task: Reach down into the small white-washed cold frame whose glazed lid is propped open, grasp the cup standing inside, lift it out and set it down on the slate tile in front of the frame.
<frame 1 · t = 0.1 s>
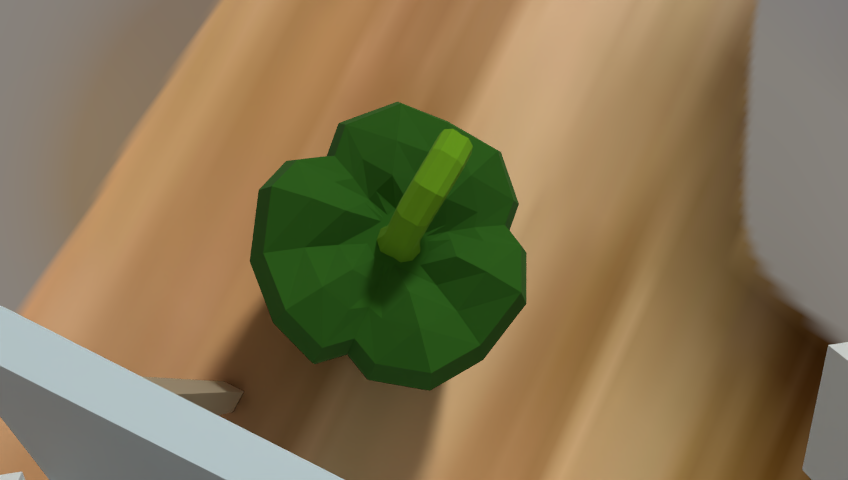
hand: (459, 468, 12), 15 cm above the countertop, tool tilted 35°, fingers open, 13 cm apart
bell pepper: (385, 278, 28), on the countertop
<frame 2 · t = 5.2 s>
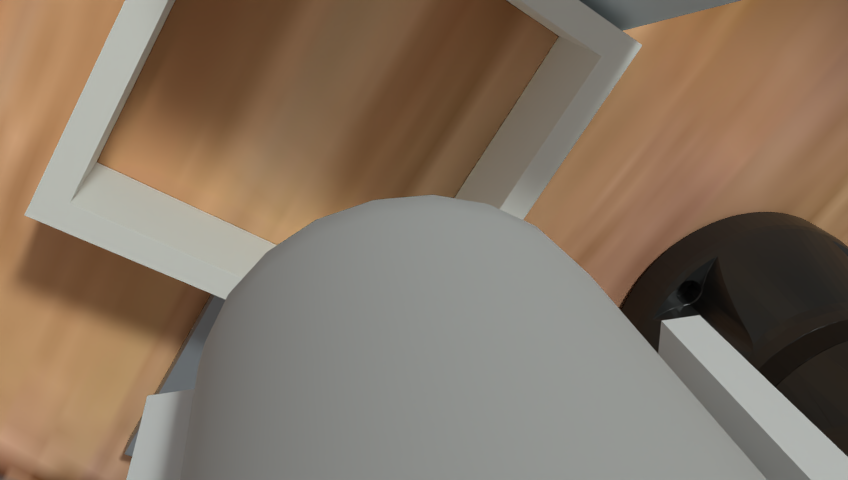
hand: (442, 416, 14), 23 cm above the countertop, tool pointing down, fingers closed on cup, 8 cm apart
cold frame: (333, 97, 34), on the countertop
cup: (463, 398, 14), point 23 cm above the countertop, touching gripper
slate tile: (270, 398, 40), on the countertop
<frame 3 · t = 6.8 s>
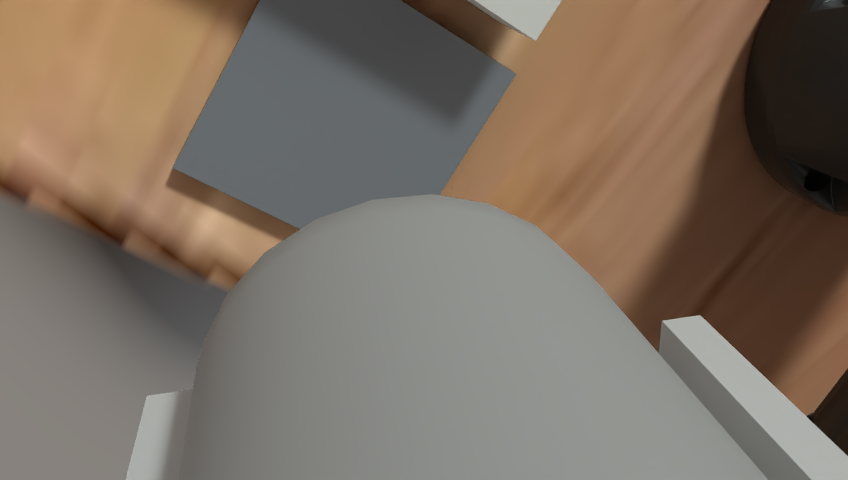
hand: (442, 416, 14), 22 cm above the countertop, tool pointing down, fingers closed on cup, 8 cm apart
cup: (464, 398, 14), point 22 cm above the countertop, touching gripper
slate tile: (345, 114, 33), on the countertop
when the fingers open (2 cm above the countertop, at t = 9.4 s): cup stays where it is, resting on slate tile.
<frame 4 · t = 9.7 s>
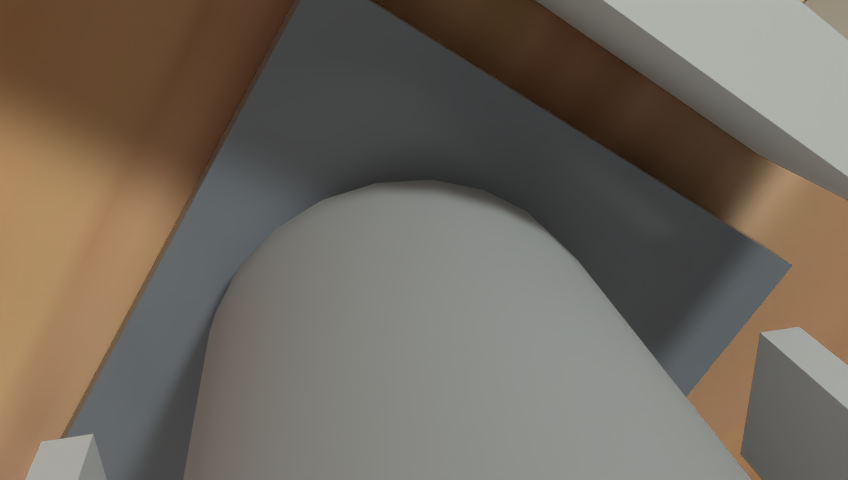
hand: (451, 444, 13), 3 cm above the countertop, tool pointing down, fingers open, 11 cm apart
cup: (457, 373, 15), point 1 cm above the countertop, touching slate tile
slate tile: (419, 348, 16), on the countertop
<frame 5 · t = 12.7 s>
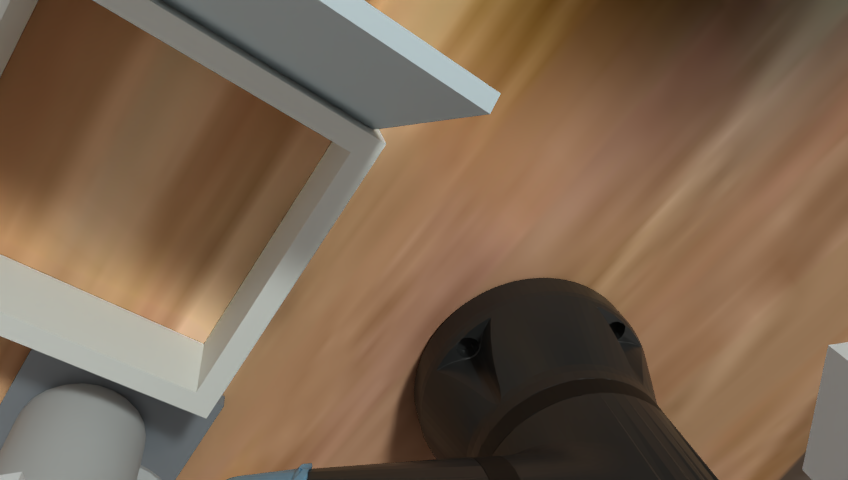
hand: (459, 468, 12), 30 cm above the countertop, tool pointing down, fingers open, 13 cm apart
cold frame: (140, 173, 40), on the countertop
cup: (105, 438, 45), point 1 cm above the countertop, touching slate tile
slate tile: (97, 429, 45), on the countertop
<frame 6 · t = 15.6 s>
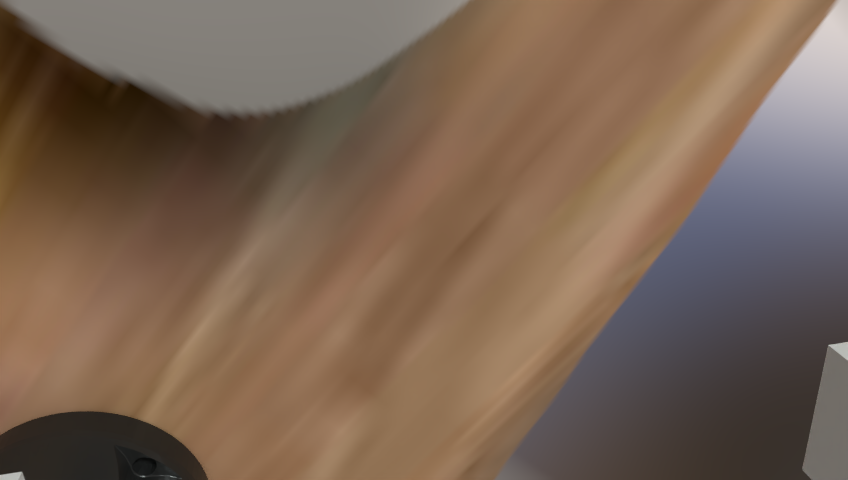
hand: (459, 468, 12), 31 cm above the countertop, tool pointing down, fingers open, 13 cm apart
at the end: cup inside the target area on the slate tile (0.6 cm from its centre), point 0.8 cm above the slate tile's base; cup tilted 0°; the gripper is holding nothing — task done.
